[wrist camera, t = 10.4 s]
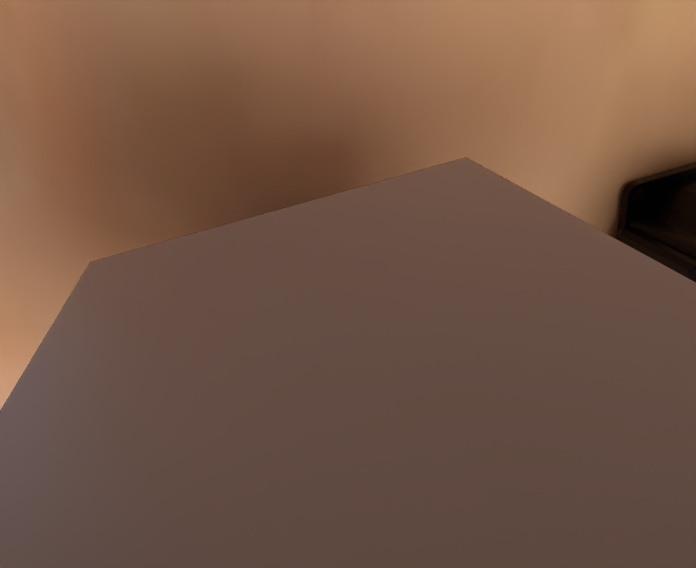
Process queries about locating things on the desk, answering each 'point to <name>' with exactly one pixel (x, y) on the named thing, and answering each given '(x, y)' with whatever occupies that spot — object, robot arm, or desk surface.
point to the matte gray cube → (363, 394)
